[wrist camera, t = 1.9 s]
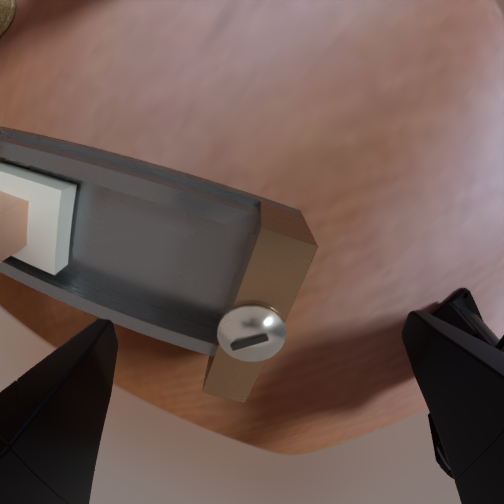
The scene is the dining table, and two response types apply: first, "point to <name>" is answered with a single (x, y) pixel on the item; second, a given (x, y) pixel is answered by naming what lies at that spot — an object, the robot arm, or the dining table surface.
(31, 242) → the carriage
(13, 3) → the sprinkles bottle
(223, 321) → the rail
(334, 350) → the dining table surface
